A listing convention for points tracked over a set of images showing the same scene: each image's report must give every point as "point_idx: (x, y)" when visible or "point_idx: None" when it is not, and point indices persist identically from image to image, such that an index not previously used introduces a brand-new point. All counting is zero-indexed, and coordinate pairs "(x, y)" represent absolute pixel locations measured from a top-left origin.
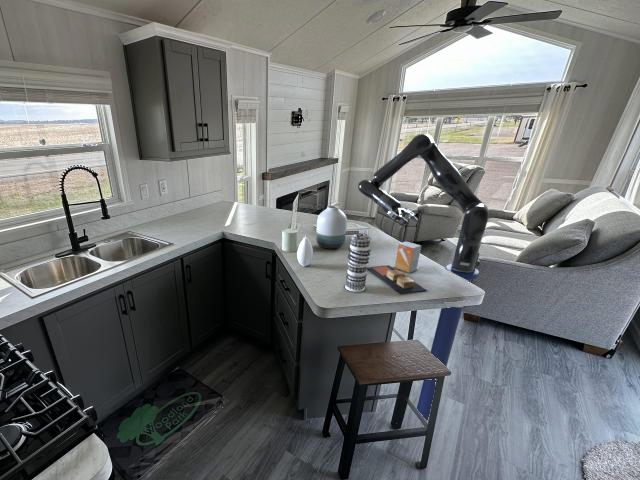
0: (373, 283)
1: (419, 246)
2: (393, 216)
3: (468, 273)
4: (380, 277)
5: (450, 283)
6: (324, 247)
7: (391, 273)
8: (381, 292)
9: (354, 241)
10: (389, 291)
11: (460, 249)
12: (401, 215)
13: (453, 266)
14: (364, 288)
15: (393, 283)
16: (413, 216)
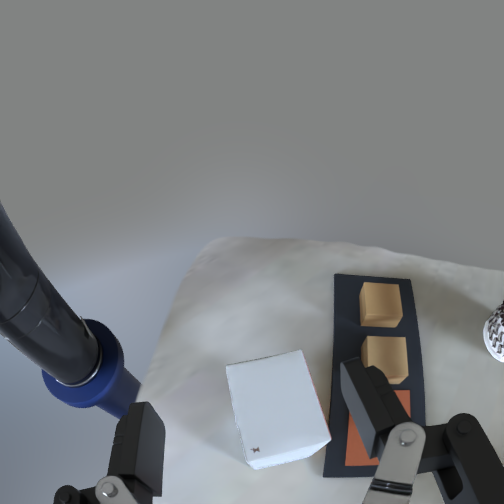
0: (454, 352)
1: (245, 361)
2: (453, 498)
3: (92, 331)
4: (423, 379)
5: (225, 287)
6: None
7: (406, 350)
8: (451, 300)
9: None
10: (431, 300)
11: (60, 320)
12: (380, 462)
13: (92, 367)
14: (486, 322)
15: (404, 330)
16: (132, 466)
